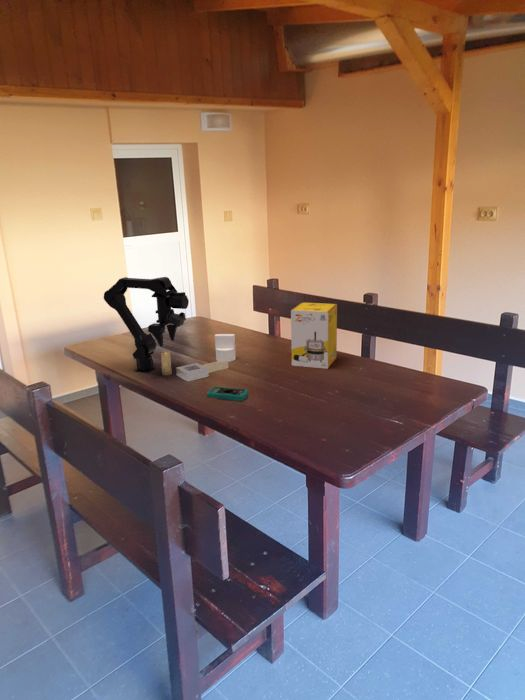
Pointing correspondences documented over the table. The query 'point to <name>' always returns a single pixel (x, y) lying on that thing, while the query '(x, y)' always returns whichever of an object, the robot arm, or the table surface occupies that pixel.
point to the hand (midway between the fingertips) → (167, 343)
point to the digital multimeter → (228, 393)
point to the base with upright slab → (225, 347)
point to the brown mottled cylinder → (166, 362)
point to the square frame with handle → (200, 370)
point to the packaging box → (314, 335)
